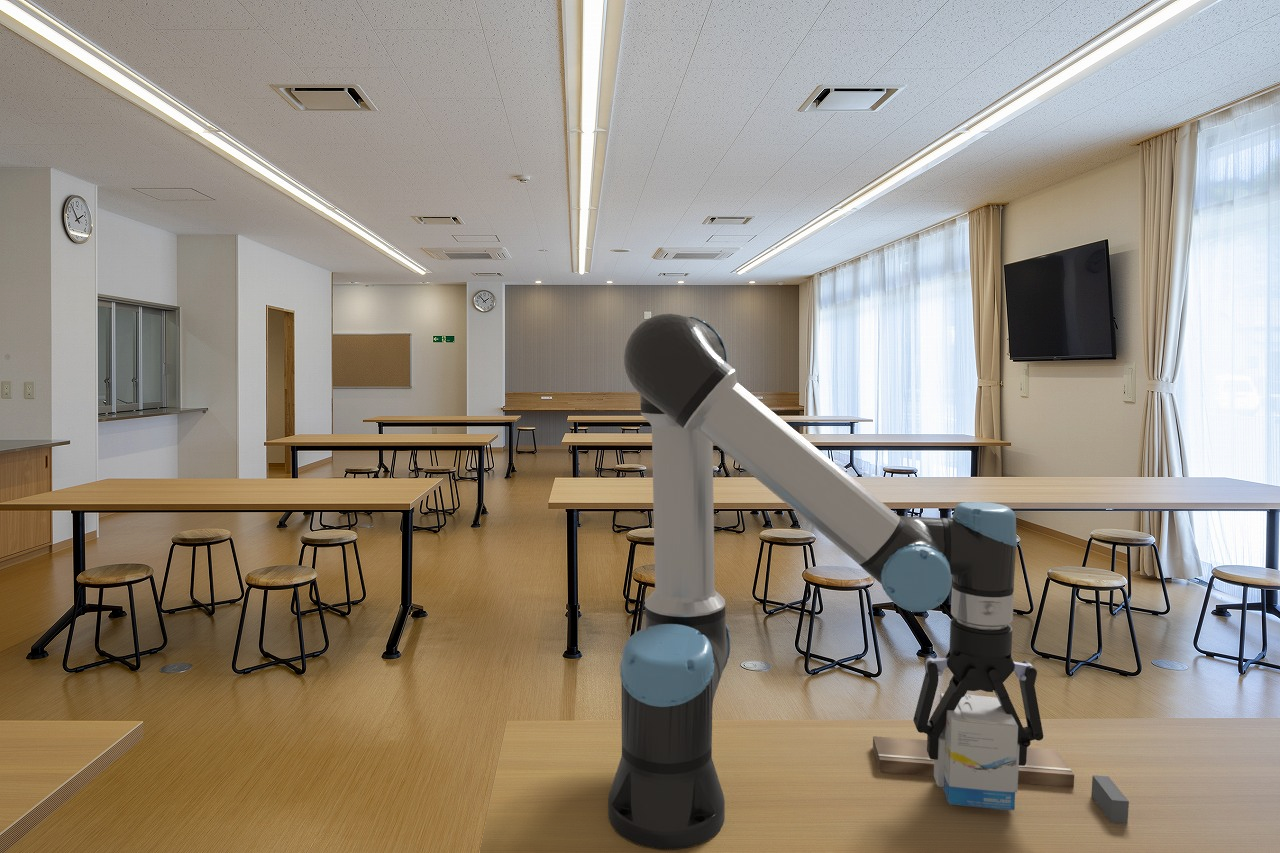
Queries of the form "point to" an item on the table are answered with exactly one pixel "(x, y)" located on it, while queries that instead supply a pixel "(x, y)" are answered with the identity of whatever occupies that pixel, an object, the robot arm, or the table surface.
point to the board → (915, 760)
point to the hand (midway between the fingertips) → (974, 783)
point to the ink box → (980, 754)
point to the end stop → (1110, 799)
